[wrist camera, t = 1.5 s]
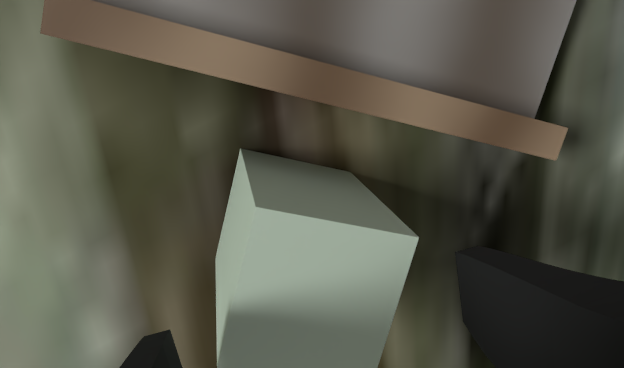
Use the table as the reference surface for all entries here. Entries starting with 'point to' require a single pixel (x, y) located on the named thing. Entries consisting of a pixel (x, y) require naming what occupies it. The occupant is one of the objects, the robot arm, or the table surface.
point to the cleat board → (355, 54)
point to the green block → (306, 268)
